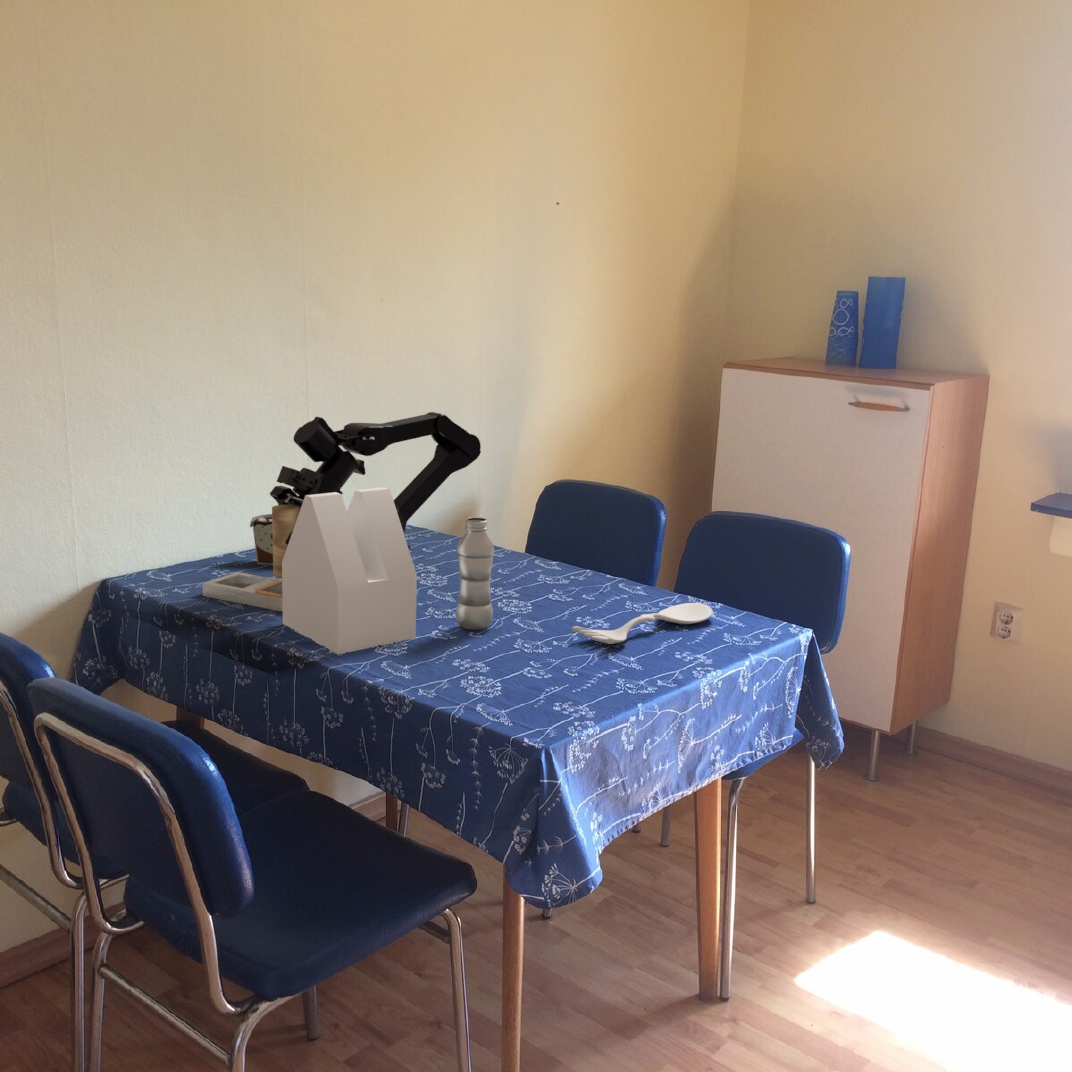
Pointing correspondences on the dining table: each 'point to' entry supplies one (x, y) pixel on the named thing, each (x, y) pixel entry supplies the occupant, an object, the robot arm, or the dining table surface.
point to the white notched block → (349, 573)
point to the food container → (263, 538)
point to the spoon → (675, 614)
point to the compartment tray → (246, 590)
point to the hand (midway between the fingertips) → (279, 541)
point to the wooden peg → (282, 533)
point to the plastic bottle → (475, 576)
